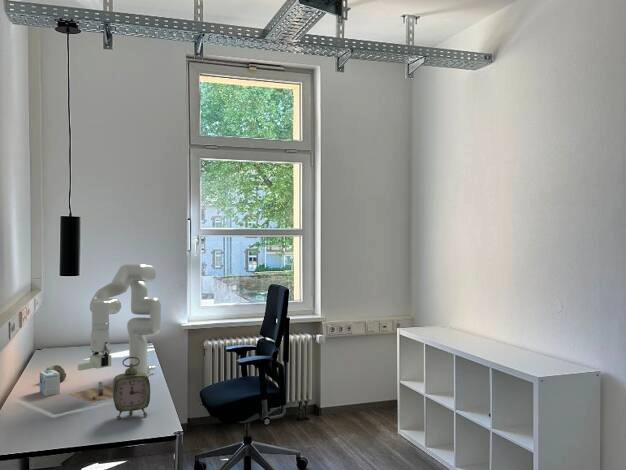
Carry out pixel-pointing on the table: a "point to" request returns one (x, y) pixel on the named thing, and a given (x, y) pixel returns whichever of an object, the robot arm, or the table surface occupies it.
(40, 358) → the table surface
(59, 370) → the carved stone stamp
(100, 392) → the post
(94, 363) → the hollow frame with stem
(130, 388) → the tabletop clock
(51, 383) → the light bulb box
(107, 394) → the board
